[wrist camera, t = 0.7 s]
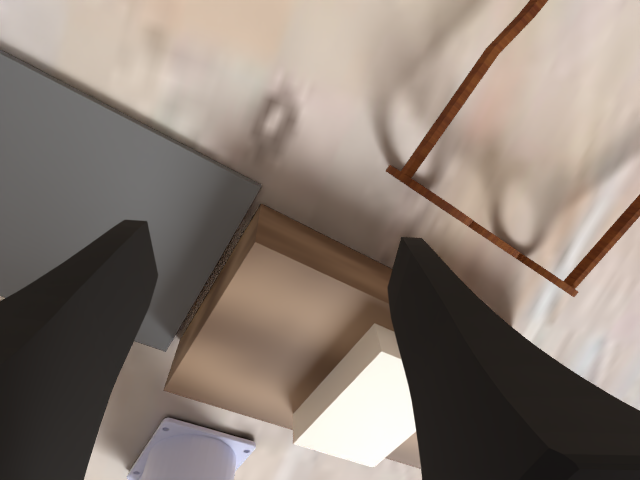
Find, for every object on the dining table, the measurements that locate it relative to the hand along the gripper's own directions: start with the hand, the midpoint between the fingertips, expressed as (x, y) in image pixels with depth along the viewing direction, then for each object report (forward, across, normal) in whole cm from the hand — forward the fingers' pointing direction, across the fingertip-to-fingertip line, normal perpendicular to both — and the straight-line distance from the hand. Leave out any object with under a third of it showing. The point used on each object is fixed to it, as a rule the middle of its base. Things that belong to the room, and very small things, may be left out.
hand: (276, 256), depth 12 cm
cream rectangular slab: (+4, -6, +14) cm, 16 cm away
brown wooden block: (+9, -5, +14) cm, 17 cm away
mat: (+9, +10, +7) cm, 15 cm away
